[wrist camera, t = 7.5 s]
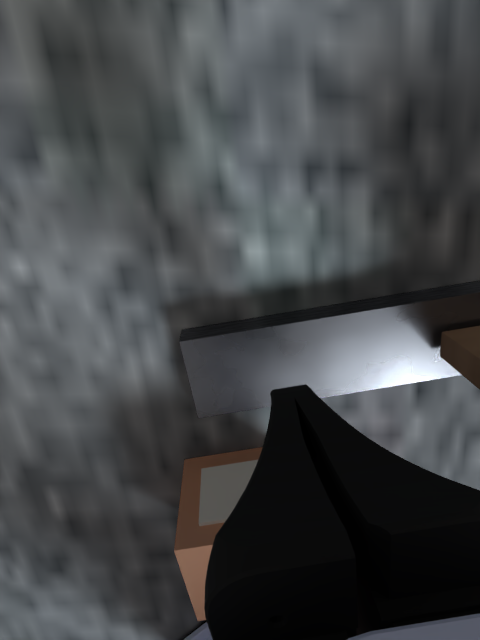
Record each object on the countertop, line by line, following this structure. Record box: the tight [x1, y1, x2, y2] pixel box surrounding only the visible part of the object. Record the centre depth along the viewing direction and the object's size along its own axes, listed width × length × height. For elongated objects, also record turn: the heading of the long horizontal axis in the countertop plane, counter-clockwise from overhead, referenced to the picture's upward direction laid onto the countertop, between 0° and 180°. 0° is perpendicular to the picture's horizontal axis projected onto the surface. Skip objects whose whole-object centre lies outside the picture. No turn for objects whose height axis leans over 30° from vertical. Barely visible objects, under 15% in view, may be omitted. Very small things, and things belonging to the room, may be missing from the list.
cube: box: [174, 447, 263, 621], centre depth 18 cm, size 5×5×5 cm
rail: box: [179, 281, 480, 418], centre depth 16 cm, size 24×4×1 cm, turn 98°
